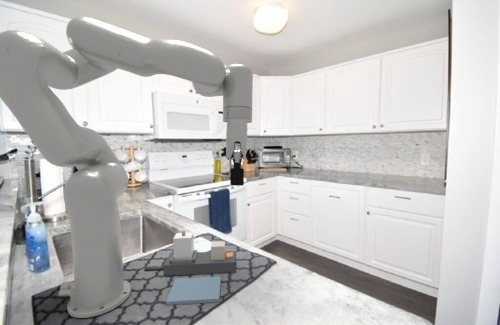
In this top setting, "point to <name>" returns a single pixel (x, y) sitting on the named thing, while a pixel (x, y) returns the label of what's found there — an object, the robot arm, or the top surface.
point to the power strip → (200, 262)
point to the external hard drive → (202, 245)
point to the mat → (195, 290)
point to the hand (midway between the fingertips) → (237, 181)
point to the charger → (183, 245)
